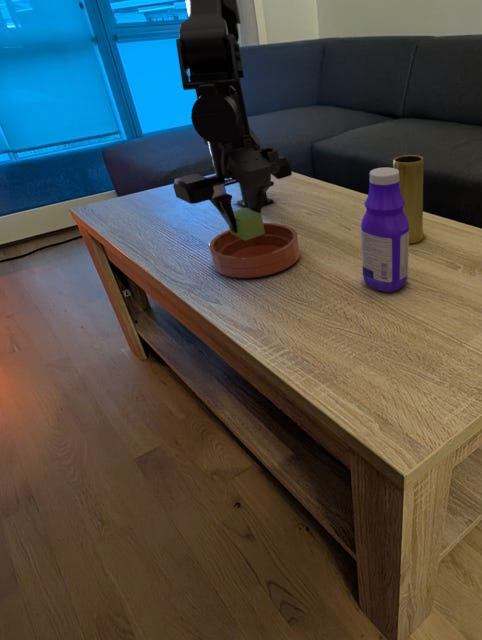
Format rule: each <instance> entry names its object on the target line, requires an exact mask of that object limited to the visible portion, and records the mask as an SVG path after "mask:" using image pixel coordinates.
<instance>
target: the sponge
mask: <svg viewBox="0 0 482 640" xmlns="http://www.w3.org/2000/svg"><path fill="white" fill-rule="evenodd" d="M233 213H234V217H235V220H236V225H237V233H234V232H233V231H232V230H231V228H230V227H229V226H228V228H229V230H230V233H231V234H233V235H235V236H237V237H239V238H241V239H243V240H245V241H246V240H249V239H252V238H255V237H257V236H260V235H263V234H265V231H264V225H263V223H264V220H263V215H262V213H261V214H260V213H258V212H255V211H253V210H251V209H249V208H247V207H243V208H241V209H237V210H233Z"/></svg>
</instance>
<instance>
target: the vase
mask: <svg viewBox="0 0 482 640" xmlns="http://www.w3.org/2000/svg"><path fill="white" fill-rule="evenodd" d="M424 163H425V159H424V157H423V156H421V155H418V154H417V155H416V154H405V155H398V156H396V157H394V158H393V162H392V166H393V167H392V168H395V169H397V170H399V186H400V192H401V195H402V198H403V199H404V201H405V205H404V207H403V211H404V213H405V215H406V217H407V219H408V223H409V245H410V244H416V243H419V242H421V241H422V240H423V239H424V228H423V227H424V223H423V221H424V216H423V215H424V168H425V167H424Z"/></svg>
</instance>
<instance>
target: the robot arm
mask: <svg viewBox="0 0 482 640" xmlns="http://www.w3.org/2000/svg"><path fill="white" fill-rule="evenodd" d="M185 4H186V9H187V10H186V11H187V15H188V18H187V19H185V20H184V21H182V22H181V23H180V26H179V31H178V35H179V38H176V39H175V45H176V51H177V52H176V53H177V58H178V65H179V71H180V78H181V85H182V89H183V90H184V91H190V90H191V91H192V90H195V94H196V100H195V102H194V103H193V105H192V107H191V114H190V115H191V117H190V119H191V124H192V126H193V129H194V130H195V132H196V133H197V134H198V135H199V137H201V139H203V141H204V145H206V146H208V148H209V152H210V155H211V156H210V157H211V159H212V160H211V161H212V164H210V171H211V173H213V174H215V175H211V176H207V177H206V176H204V175H201V174H199V173H195V172H194V173H191V174H187V175H183V176H180V177H176V178H175V179H174V182H173V186H172V187H173V190H174V193H175V197H176V198H178V199H180V200H182V201H183V202H186V203H188V204H190V205H194V204H200V203H202V202H206V201H210V202H211V204H212V205H213V206H214V207H215V208H216V210H217V211H218V212H219V214H220V216H221V217H222V218H223V219H224V221H225V223H226V224H227V225H228V228H229V227H230V228H231V230H232V231H233V232H234V233H237V225H236V220H235V217H234V213H233V212H234V210H233V207H232V200H233V195H232V194H230V193H227V189H226V187H227V186H231V185H234V184H238V185H239V190H240V194H241V195H240V196H241V200H238V201H236V204H237V205H240V206H242V207H243V208H248V209H251V210H253V211H255V212H258V213H260V214H261V215H262V207H263V206H265V205H268V204H272V203H274V199H272V198H269V197H268V195H267V191H268V190H269V189H270V188H271V187H273V186H274V185H275V181H272V176H273V177H275V179H277V180H281V179H285V178H288V177H290V176H292V175H293V172H292V163H290V161H289V159H288V158H287V157H285V156H281V155H279V152H278V149H276V147H274V146H268V147H265V148H263V147H262V148H261V144H260V139H259V136H257V134H256V133H255V132H254V131H253V130H252V129H251V127H250V124H249V118H248V113H247V109H246V103H245V97H244V93H243V89H242V83H241V79H242V78H245V75H244V69H243V61H242V54H241V46H240V44H239V39H240V35H239V25H240V24H242V22H241V16H240V15H241V14H240V9H239V2H238V0H185ZM230 228H229V229H230Z"/></svg>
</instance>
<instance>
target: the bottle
mask: <svg viewBox="0 0 482 640" xmlns="http://www.w3.org/2000/svg"><path fill="white" fill-rule="evenodd" d="M363 204H364V207H365V209H366V211H365V212H364V214H363V216H362V219H361V223H360V235H361V236H360V237H361V258H362V259H361V261H362V262H361V263H362V277H363V280H364V283H365V284H366V285H367V286H369V287H370V288H372V289H375V290H377V291H381V292H385V293H393V292H394V293H395V292H397V291H398V290H400V289H401V288H403V287H404V286H405V284H406V283H407V281H408V277H409V248H410V247H409V245H410V244H409V223H408V219H407V217H406V215H405V213H404V211H403V207H404V205H405V201H404V199H403V198H402V195H401V192H400V186H399V170H397V169H395V168H393V167H387V166H386V167H385V166H384V167H377V168H373V169H371V170H370V171H369V188H368V194H367V197H366V199H365V201H364V203H363Z"/></svg>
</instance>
